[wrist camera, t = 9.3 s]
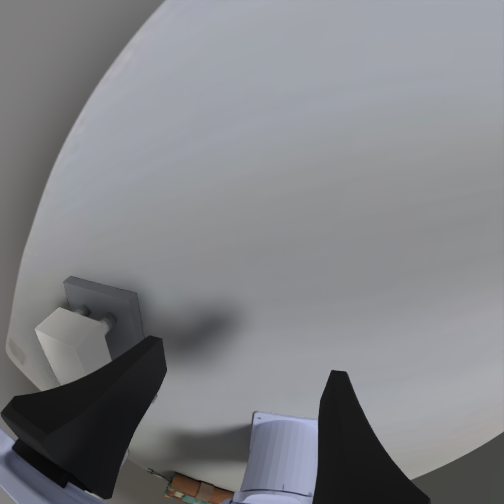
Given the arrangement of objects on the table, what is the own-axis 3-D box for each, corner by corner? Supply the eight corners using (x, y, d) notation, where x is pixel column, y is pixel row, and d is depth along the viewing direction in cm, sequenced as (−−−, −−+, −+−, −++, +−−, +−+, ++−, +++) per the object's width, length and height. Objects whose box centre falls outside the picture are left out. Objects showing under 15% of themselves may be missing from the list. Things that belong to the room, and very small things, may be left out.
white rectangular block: (59, 306, 21) (34, 328, 18) (100, 321, 20) (75, 348, 17) (92, 393, 26) (77, 414, 23) (129, 409, 25) (114, 433, 22)
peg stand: (157, 396, 29) (144, 419, 26) (101, 375, 30) (86, 395, 27) (136, 293, 23) (113, 317, 20) (70, 276, 24) (46, 294, 21)
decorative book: (151, 456, 39) (140, 478, 35) (244, 491, 39) (238, 513, 34) (146, 473, 45) (138, 491, 41) (224, 502, 45) (218, 520, 40)
